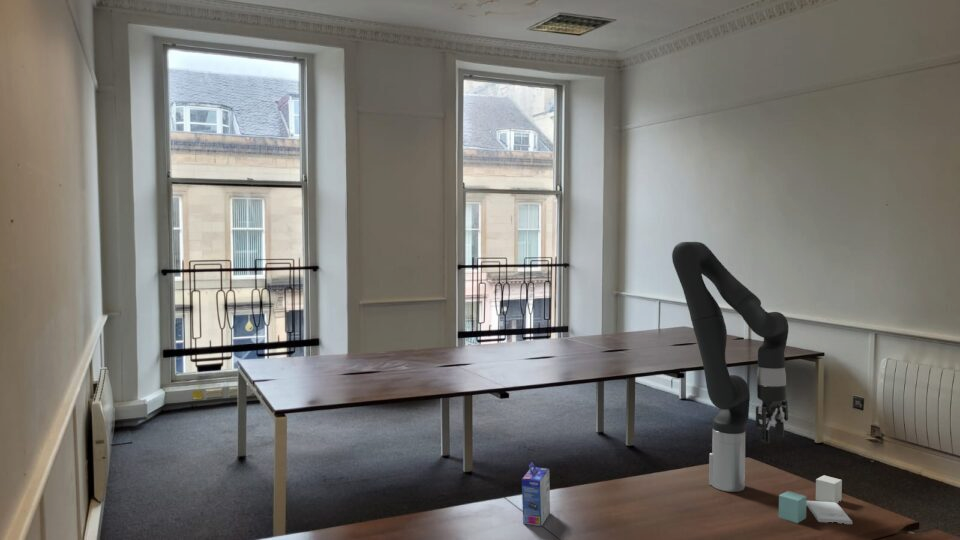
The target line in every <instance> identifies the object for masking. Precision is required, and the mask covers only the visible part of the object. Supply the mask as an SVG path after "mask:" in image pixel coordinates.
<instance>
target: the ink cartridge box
mask: <svg viewBox="0 0 960 540" xmlns="http://www.w3.org/2000/svg"><path fill="white" fill-rule="evenodd" d="M528 469H529V470H527V471H526V473H525V474H524V476H523V477H522V478H521V496H522V497H521V498H522V499H521V500H522V501H521V502H522V524H523V525H529V526H536V527H542V526H543V524H544V523H545V521H546V519H547V518H548V517H549V515H550V513H551V497H550V494H551V490H550V488H551V487H550V484H551V483H550V469H549V468H547V467H538V466H535V464H534V463H533V461H531V462H530V464H529V465H528Z"/></svg>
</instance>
